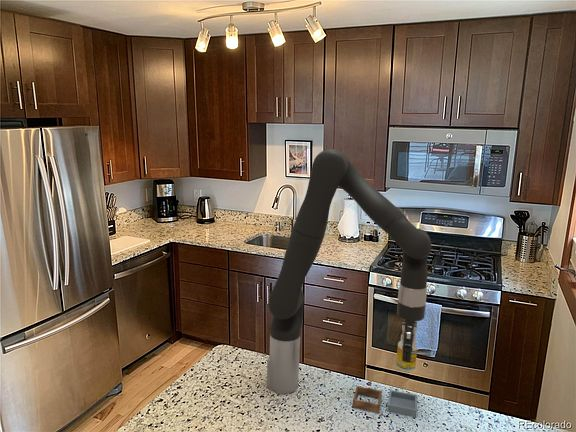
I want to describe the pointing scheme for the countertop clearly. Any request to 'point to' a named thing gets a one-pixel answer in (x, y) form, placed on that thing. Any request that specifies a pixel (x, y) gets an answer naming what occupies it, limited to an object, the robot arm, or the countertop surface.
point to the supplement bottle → (410, 365)
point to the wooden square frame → (363, 404)
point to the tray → (402, 403)
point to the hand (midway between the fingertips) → (406, 355)
